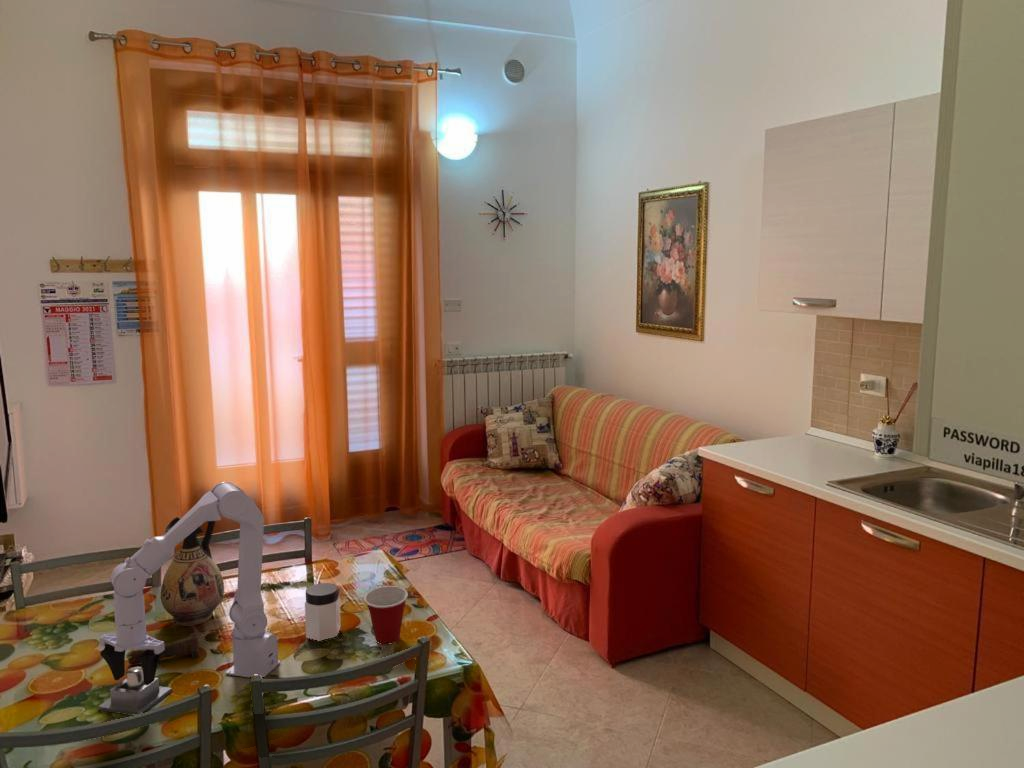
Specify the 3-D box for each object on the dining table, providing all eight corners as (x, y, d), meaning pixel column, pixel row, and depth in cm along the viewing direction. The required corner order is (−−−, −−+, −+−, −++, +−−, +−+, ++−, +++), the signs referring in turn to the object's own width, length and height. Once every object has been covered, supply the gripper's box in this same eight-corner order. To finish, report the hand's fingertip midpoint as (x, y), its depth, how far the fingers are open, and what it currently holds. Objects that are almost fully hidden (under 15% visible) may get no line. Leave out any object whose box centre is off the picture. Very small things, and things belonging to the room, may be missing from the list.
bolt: (130, 672, 177) (199, 658, 182) (128, 670, 172) (198, 656, 178) (129, 646, 179) (197, 633, 184) (127, 644, 174) (196, 631, 180)
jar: (336, 642, 188) (334, 596, 186) (303, 642, 187) (301, 596, 186) (343, 625, 197) (341, 581, 195) (311, 626, 196) (310, 582, 195)
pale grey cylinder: (148, 694, 162) (146, 668, 161) (134, 702, 159) (133, 675, 158) (138, 691, 163) (136, 665, 163) (124, 698, 160) (122, 672, 160)
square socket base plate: (171, 691, 165) (170, 675, 164) (138, 716, 155) (137, 699, 155) (133, 685, 167) (132, 669, 167) (98, 709, 158) (97, 692, 157)
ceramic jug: (173, 638, 190) (166, 523, 186) (155, 617, 201) (148, 509, 197) (240, 618, 201) (235, 509, 197) (219, 600, 212) (213, 497, 208)
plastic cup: (356, 645, 186) (355, 599, 184) (378, 627, 196) (377, 583, 194) (395, 653, 182) (394, 606, 180) (416, 634, 192) (415, 589, 190)
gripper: (86, 624, 157) (91, 685, 159) (146, 632, 153) (150, 694, 155) (112, 610, 163) (116, 668, 165) (169, 617, 160) (173, 677, 162)
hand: (134, 680), depth 161 cm, fingers open, 7 cm apart
